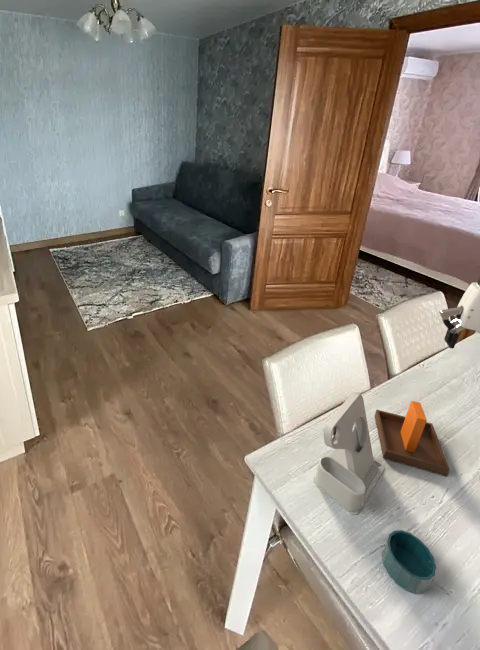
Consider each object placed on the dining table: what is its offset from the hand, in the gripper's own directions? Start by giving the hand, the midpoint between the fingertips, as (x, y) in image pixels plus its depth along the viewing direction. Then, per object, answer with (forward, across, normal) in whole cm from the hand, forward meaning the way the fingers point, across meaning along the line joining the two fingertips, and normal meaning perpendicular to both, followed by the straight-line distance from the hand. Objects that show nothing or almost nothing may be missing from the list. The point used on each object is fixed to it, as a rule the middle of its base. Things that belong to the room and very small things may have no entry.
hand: (474, 349), depth 79 cm
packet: (+28, +8, +5) cm, 29 cm away
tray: (+28, +8, +5) cm, 30 cm away
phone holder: (+28, +23, +19) cm, 41 cm away
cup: (+28, +15, +35) cm, 47 cm away
